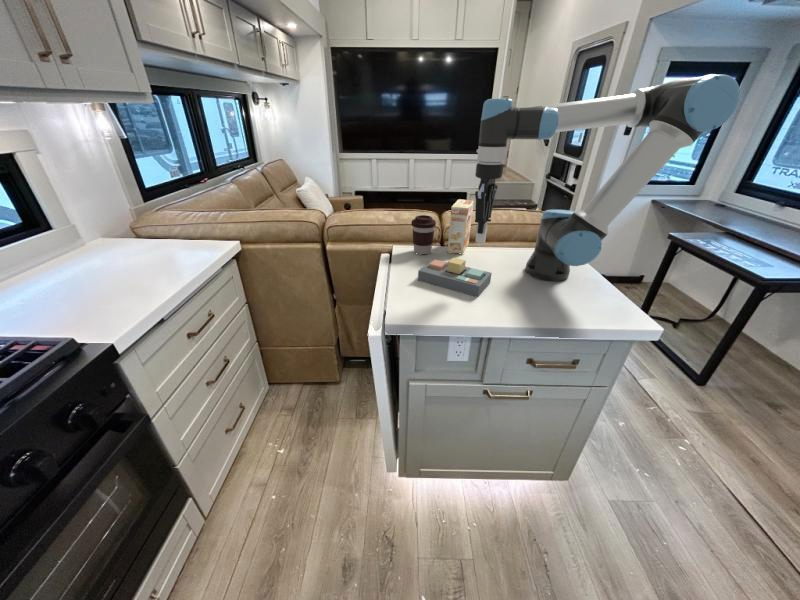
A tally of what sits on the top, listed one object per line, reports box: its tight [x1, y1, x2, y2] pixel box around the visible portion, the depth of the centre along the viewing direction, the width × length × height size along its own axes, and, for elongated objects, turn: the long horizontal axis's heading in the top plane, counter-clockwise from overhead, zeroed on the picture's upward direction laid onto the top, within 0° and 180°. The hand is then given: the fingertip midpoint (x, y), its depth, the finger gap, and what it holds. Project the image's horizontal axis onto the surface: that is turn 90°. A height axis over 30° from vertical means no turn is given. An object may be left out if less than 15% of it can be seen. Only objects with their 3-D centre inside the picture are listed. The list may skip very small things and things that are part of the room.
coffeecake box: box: [447, 198, 475, 255], centre depth 138 cm, size 15×7×20 cm, turn 160°
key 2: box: [466, 267, 485, 280], centre depth 109 cm, size 5×5×4 cm
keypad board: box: [417, 258, 493, 298], centre depth 112 cm, size 22×12×4 cm, turn 58°
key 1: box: [429, 259, 447, 271], centre depth 116 cm, size 5×5×4 cm
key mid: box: [447, 257, 467, 274], centre depth 111 cm, size 5×5×4 cm
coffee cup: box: [410, 214, 437, 255], centre depth 134 cm, size 10×10×15 cm
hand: (480, 242), depth 103 cm, fingers closed
